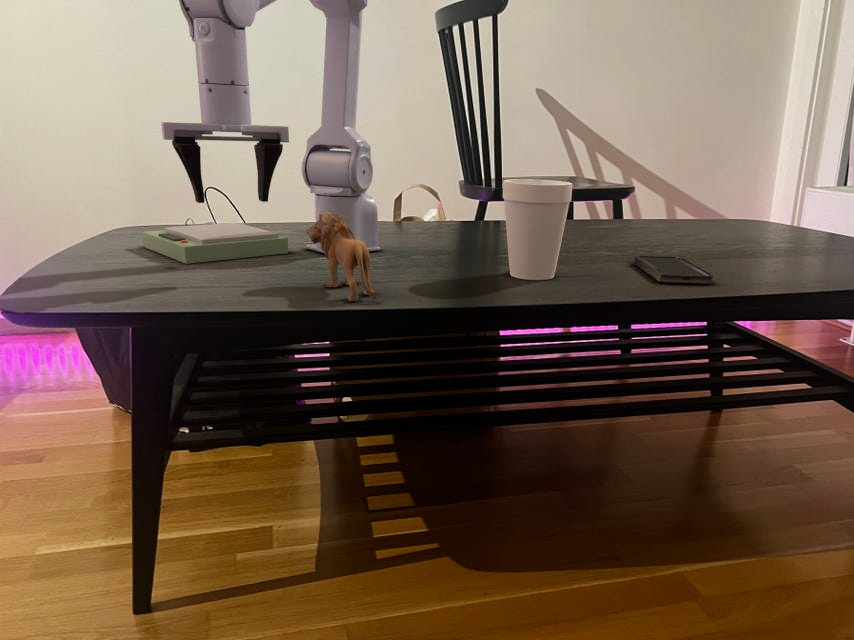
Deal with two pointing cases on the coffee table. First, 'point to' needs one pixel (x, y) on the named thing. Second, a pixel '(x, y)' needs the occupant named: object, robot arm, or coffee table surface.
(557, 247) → the foam cup
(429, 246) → the coffee table surface
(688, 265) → the phone
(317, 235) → the lion figurine
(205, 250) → the kitchen scale
